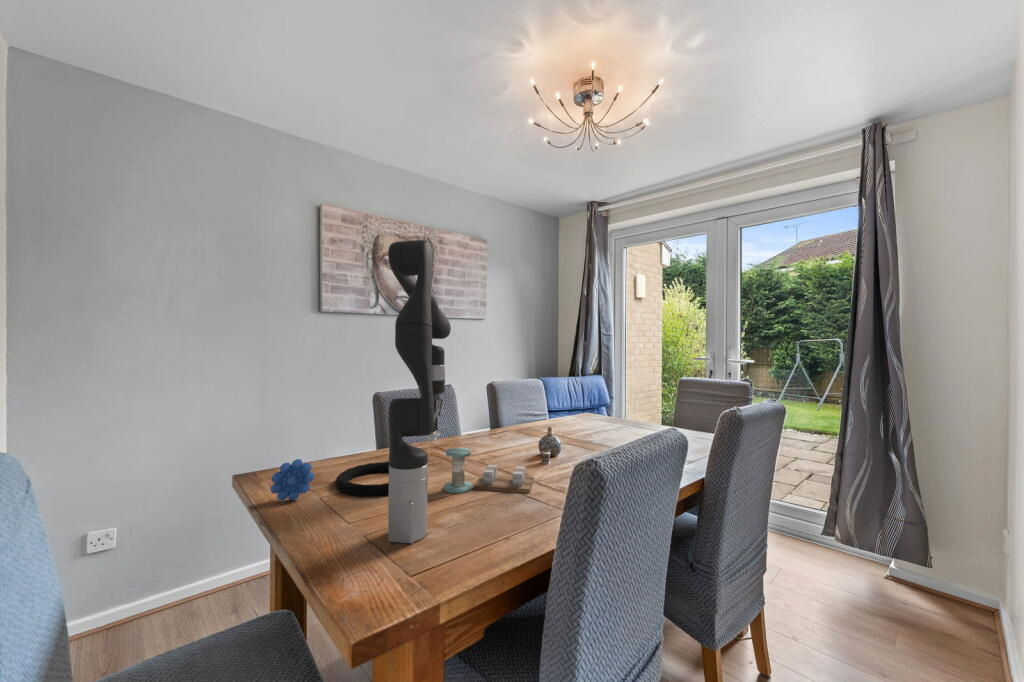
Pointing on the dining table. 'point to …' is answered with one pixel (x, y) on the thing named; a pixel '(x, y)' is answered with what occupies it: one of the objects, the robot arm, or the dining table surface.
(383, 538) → the dining table surface
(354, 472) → the cable lock
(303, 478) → the blue flower
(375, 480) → the dining table surface
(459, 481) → the bobbin
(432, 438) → the screw
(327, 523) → the dining table surface
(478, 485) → the notch board
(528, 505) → the dining table surface
